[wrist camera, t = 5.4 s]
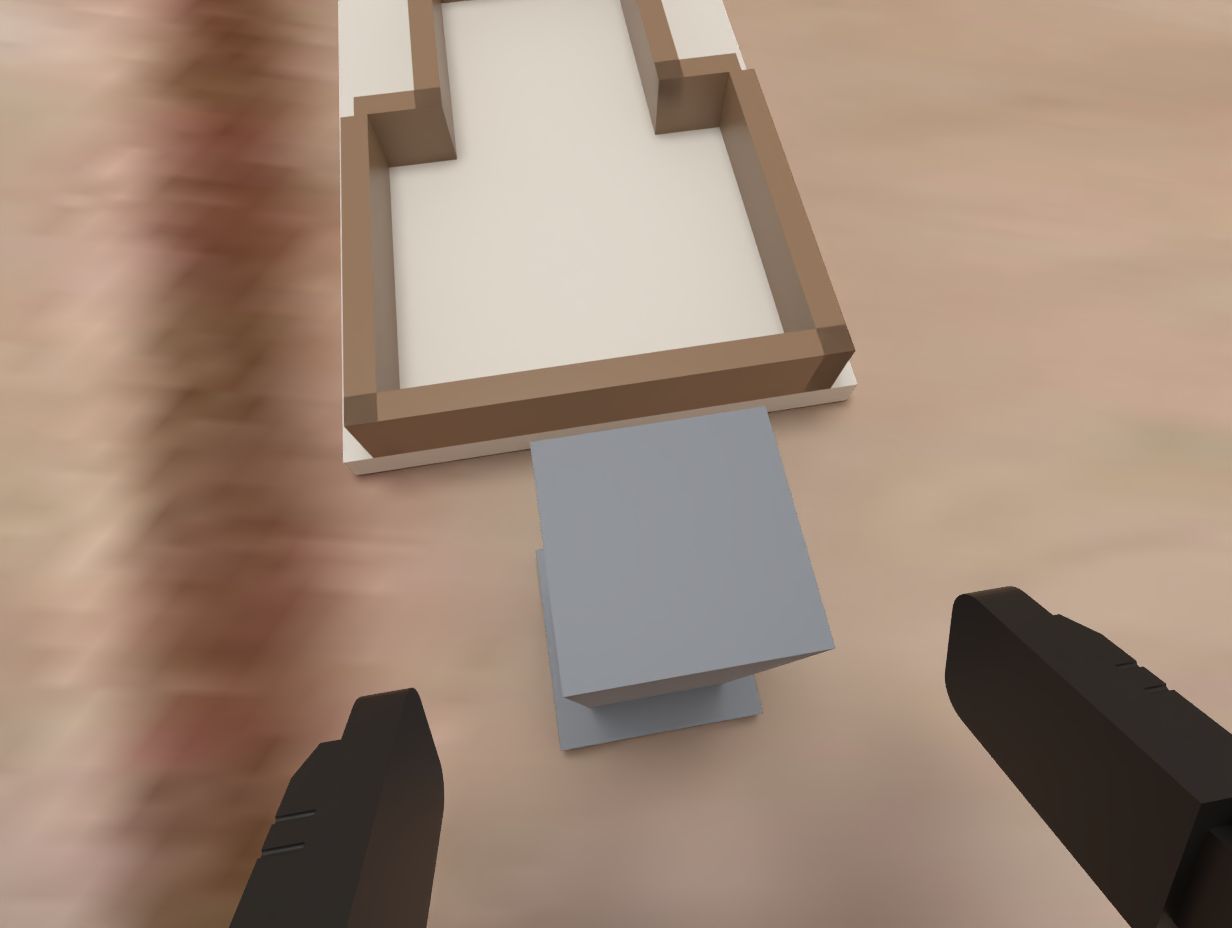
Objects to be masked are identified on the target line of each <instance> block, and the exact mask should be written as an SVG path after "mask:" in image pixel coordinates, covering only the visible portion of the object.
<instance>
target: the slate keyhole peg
mask: <svg viewBox="0 0 1232 928" xmlns="http://www.w3.org/2000/svg"><path fill="white" fill-rule="evenodd" d="M530 447H531V455H532V463H533V470H534V478H535V486H536V493H537V501H538V509H539V516H540V524H541V532H542V540H543V547H544V549H540V550H536V556H537V564H538V572H539V580H540V588H541V596H542V604H543V612H544V620H545V628H546V636H547V644H548V652H549V660H550V668H551V676H552V684H553V692H554V700H555V708H556V716H557V724H558V732H559V740H560V748H561V751H563V750H569V749H574V748H579V747H585V746H590V745H596V744H601V743H606V742H612V741H617V740H623V739H628V738H633V737H639V736H644V735H650V734H655V733H660V732H666V731H671V730H677V729H682V728H687V727H693V726H698V725H704V724H709V723H714V722H720V721H725V720H731V719H736V718H741V717H747V716H752V715H758V714H763V712H762V708H761V703H760V699H759V695H758V691H757V687H756V682H755V678H754V674H756V673H759V672H762V671H765V670H768V669H771V668H774V667H778V666H781V665H784V664H787V663H790V662H793V661H797V660H800V659H803V658H806V657H809V656H812V655H816V654H819V653H822V652H825V651H828V650H831V649H834V648H835V645H834V642H833V638H832V635H831V631H830V628H829V624H828V621H827V617H826V614H825V610H824V607H823V603H822V600H821V596H820V593H819V590H818V586H817V583H816V579H815V576H814V572H813V569H812V565H811V562H810V558H809V555H808V551H807V548H806V544H805V541H804V537H803V534H802V530H801V527H800V524H799V520H798V517H797V513H796V510H795V506H794V503H793V499H792V496H791V492H790V489H789V485H788V482H787V478H786V475H785V471H784V468H783V464H782V461H781V458H780V454H779V451H778V447H777V444H776V440H775V437H774V433H773V430H772V426H771V423H770V419H769V416H768V412H767V409H766V406H762V407H755V408H749V409H742V410H736V411H729V412H723V413H716V414H710V415H703V416H697V417H690V418H684V419H677V420H671V421H664V422H658V423H651V424H645V425H638V426H632V427H625V428H618V429H612V430H605V431H599V432H592V433H586V434H579V435H573V436H566V437H560V438H553V439H547V440H540V441H534V442H530Z"/></svg>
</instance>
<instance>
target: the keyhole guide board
mask: <svg viewBox="0 0 1232 928" xmlns="http://www.w3.org/2000/svg"><path fill="white" fill-rule="evenodd" d="M338 17H339V112H340V206H341V300H342V394H343V463H344V464H345V465H346V466H347V467H348V468H349V469H350V470H352V471H353V472H354V473H355V474H356V475H362V474H369V473H375V472H382V471H388V470H395V469H401V468H408V467H414V466H421V465H427V464H434V463H440V462H447V461H453V460H460V459H466V458H473V457H479V456H486V455H492V454H499V453H505V452H512V451H518V450H525V449H531V447H530V442H534V441H540V440H547V439H553V438H560V437H566V436H573V435H579V434H586V433H592V432H599V431H605V430H612V429H618V428H625V427H632V426H638V425H645V424H651V423H658V422H664V421H671V420H677V419H684V418H690V417H697V416H703V415H710V414H716V413H723V412H729V411H736V410H742V409H749V408H755V407H762V406H766V409H767V412H772V411H779V410H785V409H792V408H798V407H805V406H811V405H818V404H824V403H831V402H837V401H844V400H847V398H848V397H849V395H850V394H851V393H852V391H853V390H854V389H855V387H856V386H857V385H858V384H857V381H856V378H855V376H854V373H853V370H852V367H851V364H850V361H849V359H850V358H851V356H852V355H853V353H854V352H855V348H854V345H853V343H852V340H851V337H850V334H849V331H848V329H847V326H846V323H845V320H844V318H843V315H842V312H841V309H840V306H839V304H838V301H837V298H836V295H835V293H834V290H833V287H832V284H831V281H830V279H829V276H828V273H827V270H826V267H825V265H824V262H823V259H822V256H821V254H820V251H819V248H818V245H817V242H816V240H815V237H814V234H813V231H812V229H811V226H810V223H809V220H808V217H807V215H806V212H805V209H804V206H803V204H802V201H801V198H800V195H799V192H798V190H797V187H796V184H795V181H794V178H793V176H792V173H791V170H790V167H789V165H788V162H787V159H786V156H785V153H784V151H783V148H782V145H781V142H780V140H779V137H778V134H777V131H776V128H775V126H774V123H773V120H772V117H771V115H770V112H769V109H768V106H767V103H766V101H765V98H764V95H763V92H762V89H761V87H760V84H759V81H758V78H757V76H756V73H755V70H754V69H748V70H746V67H745V64H744V61H743V58H742V55H741V53H740V50H739V47H738V44H737V41H736V38H735V36H734V33H733V30H732V27H731V24H730V21H729V19H728V16H727V13H726V10H725V7H724V4H723V2H722V0H340V1H338Z"/></svg>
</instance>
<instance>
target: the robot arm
mask: <svg viewBox="0 0 1232 928" xmlns="http://www.w3.org/2000/svg"><path fill="white" fill-rule="evenodd" d="M945 683H946V688H947V692H948V695H949V698H950V701H951V703H952V705H953V707H954V709H955V711H956V713H957V714H958V716H959V717H960V719H961V720H962V721H963V722H964V724H965V725H966V726H967V727H968V728H969V730H970V731H971V732H972V733H973V735H974V736H975V737H976V738H977V739H978V741H979V742H980V743H981V744H982V746H983V747H984V748H985V749H986V750H987V752H988V753H989V754H990V755H991V757H992V758H993V759H994V760H995V761H996V763H997V764H998V765H999V766H1000V768H1001V769H1002V770H1003V771H1004V772H1005V774H1006V775H1007V776H1008V777H1009V779H1010V780H1011V781H1012V782H1013V783H1014V785H1015V786H1016V787H1017V788H1018V790H1019V791H1020V792H1021V793H1022V794H1023V796H1024V797H1025V798H1026V799H1027V801H1028V802H1029V803H1030V804H1031V806H1032V807H1033V808H1034V809H1035V810H1036V812H1037V813H1038V814H1039V815H1040V817H1041V818H1042V819H1043V820H1044V821H1045V823H1046V824H1047V825H1048V826H1049V828H1050V829H1051V830H1052V831H1053V832H1054V834H1055V835H1056V836H1057V837H1058V839H1059V840H1060V841H1061V842H1062V843H1063V845H1064V846H1065V847H1066V848H1067V850H1068V851H1069V852H1070V853H1071V854H1072V856H1073V857H1074V858H1075V859H1076V861H1077V862H1078V863H1079V864H1080V865H1081V867H1082V868H1083V869H1084V870H1085V872H1086V873H1087V874H1088V875H1089V876H1090V878H1091V879H1092V880H1093V881H1094V883H1095V884H1096V885H1097V886H1098V887H1099V889H1100V890H1101V891H1102V892H1103V894H1104V895H1105V896H1106V897H1107V898H1108V900H1109V901H1110V902H1111V903H1112V905H1113V906H1114V907H1115V908H1116V909H1117V911H1118V912H1119V913H1120V914H1121V916H1122V917H1123V918H1124V919H1125V920H1126V922H1127V923H1128V924H1129V925H1130V927H1131V928H1232V734H1231V733H1229V732H1228V731H1227V730H1225V729H1224V728H1223V727H1221V726H1220V725H1219V724H1218V723H1216V722H1215V721H1214V720H1212V719H1211V718H1210V717H1208V716H1207V715H1206V714H1205V713H1203V712H1202V711H1201V710H1199V709H1198V708H1197V707H1195V706H1194V705H1193V704H1192V703H1190V702H1189V701H1188V700H1186V699H1185V698H1184V697H1182V696H1181V695H1180V694H1179V693H1177V692H1176V691H1175V690H1168V689H1167V687H1166V683H1164V682H1163V681H1162V680H1160V679H1159V678H1158V677H1157V676H1155V675H1154V674H1153V673H1151V672H1150V671H1149V670H1147V669H1146V668H1145V667H1139V666H1138V665H1137V661H1136V660H1134V659H1133V658H1132V657H1131V656H1129V655H1128V654H1127V653H1125V652H1124V651H1123V650H1121V649H1120V648H1119V647H1118V646H1116V645H1115V644H1114V643H1112V642H1111V641H1110V640H1108V639H1107V638H1106V637H1105V636H1103V635H1102V634H1100V633H1098V632H1096V631H1094V630H1092V629H1089V628H1087V627H1085V626H1083V625H1081V624H1079V623H1077V622H1075V621H1072V620H1070V619H1068V618H1066V617H1064V616H1062V615H1060V614H1058V615H1052V614H1051V613H1049V612H1048V611H1047V610H1046V609H1045V608H1043V607H1042V606H1041V605H1040V604H1038V603H1037V602H1036V601H1035V600H1033V599H1032V598H1031V597H1030V596H1028V595H1027V594H1026V593H1025V592H1023V591H1022V590H1020V589H1018V588H1016V587H1012V586H1007V587H1001V588H996V589H990V590H984V591H978V592H973V593H967V594H962V595H959V596H958V597H957V598H956V600H955V601H954V604H953V609H952V618H951V626H950V635H949V643H948V652H947V660H946V668H945ZM443 810H444V782H443V774H442V768H441V764H440V760H439V757H438V754H437V751H436V747H435V744H434V741H433V738H432V735H431V731H430V728H429V725H428V722H427V719H426V715H425V712H424V709H423V706H422V702H421V699H420V697H419V694H418V692H417V691H416V689H414V688H408V689H402V690H397V691H391V692H385V693H379V694H373V695H368V696H362V697H359V698H358V699H357V700H356V702H355V703H354V706H353V708H352V711H351V714H350V716H349V719H348V722H347V725H346V728H345V730H344V733H343V736H342V739H341V740H336V741H330V742H324V743H320V744H319V745H318V747H317V748H316V749H315V750H314V751H313V753H312V754H311V755H310V756H309V757H308V759H307V760H306V761H305V762H304V763H303V765H302V766H301V767H300V768H299V770H298V771H297V772H296V773H295V774H294V776H293V777H292V778H291V780H290V783H289V785H288V787H287V790H286V792H285V795H284V797H283V799H282V802H281V804H280V807H279V809H278V811H277V814H276V816H275V818H276V822H275V824H273V825H272V826H271V828H270V830H269V833H268V835H267V838H266V840H265V842H264V845H263V847H262V856H261V858H259V859H257V862H256V864H255V866H254V869H253V871H252V874H251V876H250V878H249V881H248V883H247V886H246V888H245V890H244V893H243V895H242V898H241V900H240V902H239V905H238V907H237V910H236V912H235V914H234V917H233V919H232V922H231V924H230V926H229V928H426V926H427V919H428V912H429V906H430V899H431V892H432V885H433V878H434V872H435V865H436V858H437V851H438V845H439V838H440V831H441V824H442V817H443Z"/></svg>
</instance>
